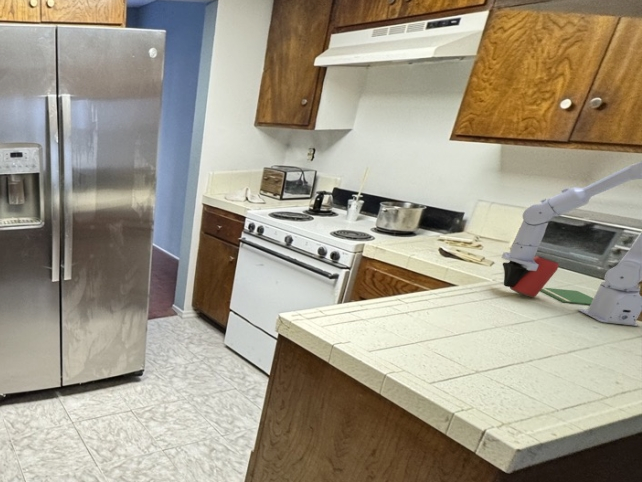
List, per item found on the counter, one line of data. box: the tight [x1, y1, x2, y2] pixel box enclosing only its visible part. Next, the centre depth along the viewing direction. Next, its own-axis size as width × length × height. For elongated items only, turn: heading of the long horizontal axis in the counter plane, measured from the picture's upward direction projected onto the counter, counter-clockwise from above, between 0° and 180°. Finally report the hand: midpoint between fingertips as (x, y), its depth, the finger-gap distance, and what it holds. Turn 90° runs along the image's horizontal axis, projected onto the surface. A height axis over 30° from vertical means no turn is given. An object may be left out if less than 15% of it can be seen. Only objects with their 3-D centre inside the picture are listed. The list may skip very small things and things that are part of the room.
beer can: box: [509, 254, 561, 298], centre depth 144 cm, size 7×7×12 cm
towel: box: [540, 287, 594, 306], centre depth 147 cm, size 14×11×1 cm
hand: (508, 286), depth 147 cm, fingers closed, pressing on beer can
